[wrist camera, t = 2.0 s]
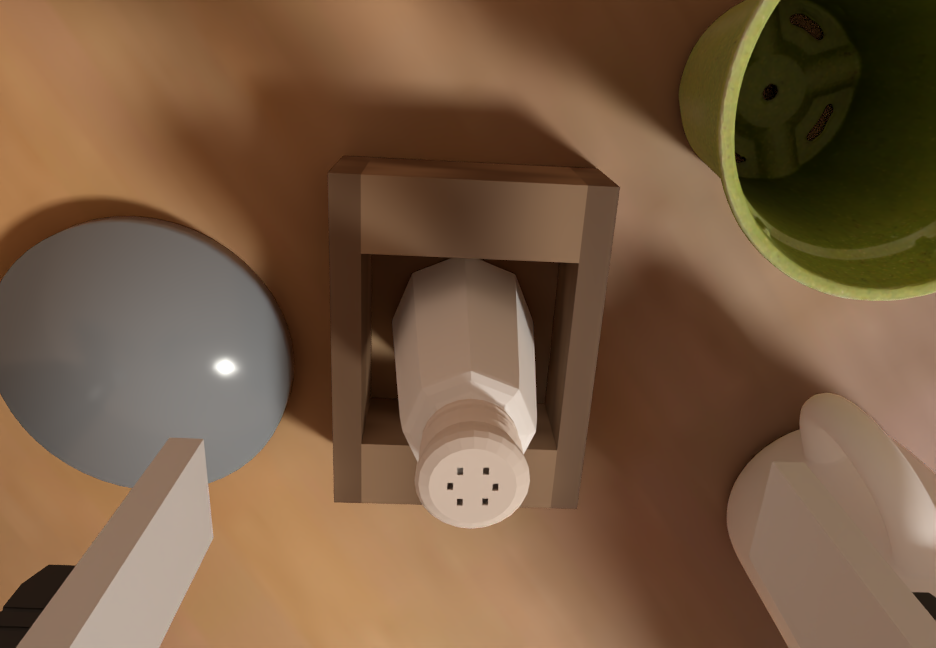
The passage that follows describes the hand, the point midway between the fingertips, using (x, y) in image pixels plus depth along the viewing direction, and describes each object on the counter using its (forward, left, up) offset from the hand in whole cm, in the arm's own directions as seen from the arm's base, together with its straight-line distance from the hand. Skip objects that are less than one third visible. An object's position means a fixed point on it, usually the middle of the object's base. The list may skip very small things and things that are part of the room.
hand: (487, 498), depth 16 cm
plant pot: (+10, +9, -12) cm, 18 cm away
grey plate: (-12, -2, -12) cm, 17 cm away
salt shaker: (0, 0, -12) cm, 12 cm away
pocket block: (0, 0, -12) cm, 12 cm away
